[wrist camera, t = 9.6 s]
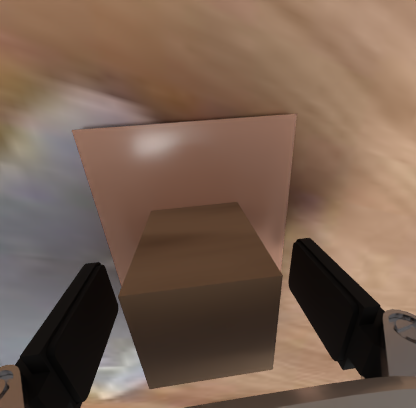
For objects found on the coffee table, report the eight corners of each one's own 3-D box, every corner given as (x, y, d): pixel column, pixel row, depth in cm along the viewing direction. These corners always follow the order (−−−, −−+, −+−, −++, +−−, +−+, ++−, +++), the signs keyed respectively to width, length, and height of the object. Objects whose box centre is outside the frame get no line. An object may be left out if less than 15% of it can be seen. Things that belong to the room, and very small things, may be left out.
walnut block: (237, 268, 14) (272, 369, 8) (164, 277, 13) (149, 389, 8) (237, 201, 12) (282, 275, 6) (151, 210, 11) (117, 296, 6)
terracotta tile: (272, 298, 17) (277, 308, 16) (137, 316, 16) (134, 328, 15) (287, 114, 11) (296, 113, 10) (82, 129, 10) (71, 129, 9)
